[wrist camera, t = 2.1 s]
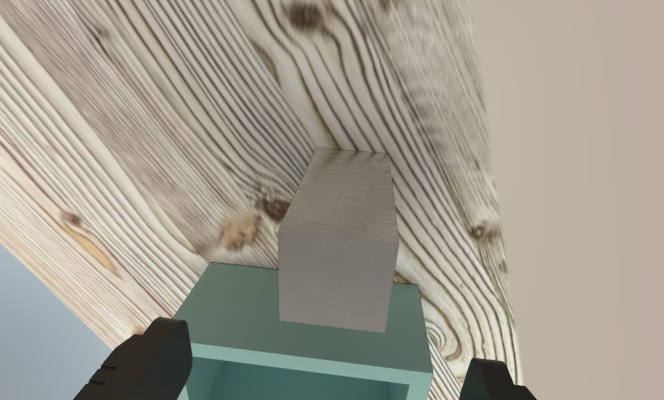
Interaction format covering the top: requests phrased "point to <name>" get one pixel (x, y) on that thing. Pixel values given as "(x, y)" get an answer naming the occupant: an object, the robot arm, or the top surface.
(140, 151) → the top surface
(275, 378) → the box
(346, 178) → the grey upright brick
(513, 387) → the robot arm
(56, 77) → the top surface
